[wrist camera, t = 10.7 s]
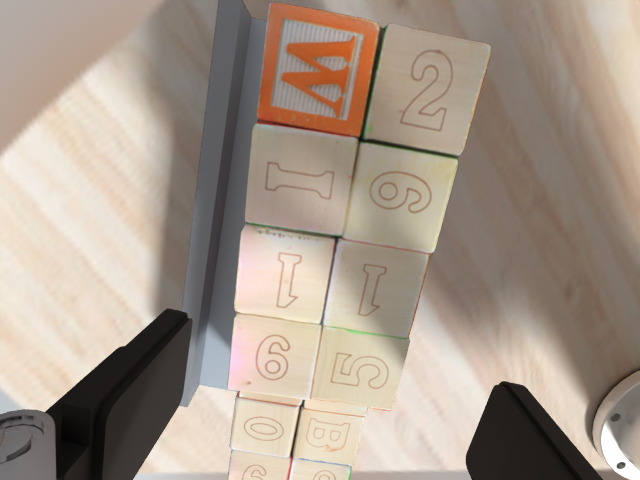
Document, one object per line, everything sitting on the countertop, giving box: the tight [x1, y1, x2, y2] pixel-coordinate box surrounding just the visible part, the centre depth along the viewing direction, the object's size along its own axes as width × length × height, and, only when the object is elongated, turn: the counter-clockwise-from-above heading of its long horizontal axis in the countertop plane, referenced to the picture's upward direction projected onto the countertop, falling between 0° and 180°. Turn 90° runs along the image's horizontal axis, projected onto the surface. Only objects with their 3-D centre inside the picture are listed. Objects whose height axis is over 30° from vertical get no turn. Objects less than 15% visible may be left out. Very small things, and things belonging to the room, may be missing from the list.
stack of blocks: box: [227, 2, 491, 480], centre depth 17 cm, size 21×6×12 cm, turn 170°
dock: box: [179, 0, 267, 407], centre depth 24 cm, size 14×26×5 cm, turn 168°
